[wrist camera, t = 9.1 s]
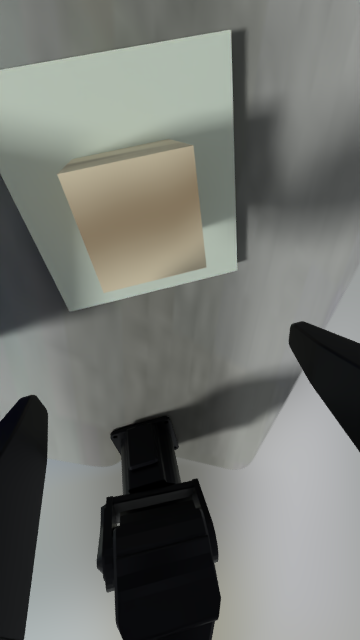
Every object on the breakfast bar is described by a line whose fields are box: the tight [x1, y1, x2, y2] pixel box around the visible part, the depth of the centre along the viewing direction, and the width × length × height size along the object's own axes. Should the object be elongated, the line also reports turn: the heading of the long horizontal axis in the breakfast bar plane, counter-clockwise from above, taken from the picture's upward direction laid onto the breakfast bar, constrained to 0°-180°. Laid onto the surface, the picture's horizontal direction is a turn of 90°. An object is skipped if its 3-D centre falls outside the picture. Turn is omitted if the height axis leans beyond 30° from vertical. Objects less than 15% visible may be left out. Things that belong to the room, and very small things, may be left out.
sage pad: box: [0, 30, 237, 312], centre depth 16 cm, size 12×12×1 cm
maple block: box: [57, 139, 207, 293], centre depth 13 cm, size 5×5×5 cm
